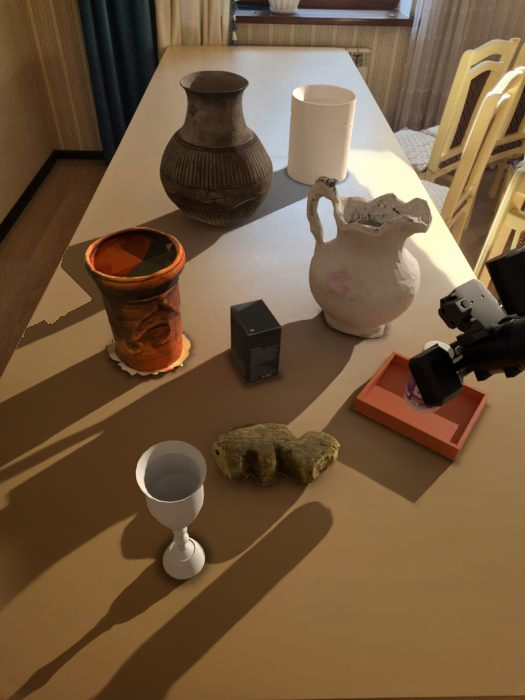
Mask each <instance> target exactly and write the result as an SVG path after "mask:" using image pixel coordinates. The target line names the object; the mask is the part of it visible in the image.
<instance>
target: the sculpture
mask: <svg viewBox="0 0 525 700" xmlns="http://www.w3.org/2000/svg"><path fill="white" fill-rule="evenodd" d="M340 445H341V444H340V443H339V441H338V440H336V438H335V437H334V436H332V435H330V434H328V433H326V432H323V431H317V430H309V431H307V432H305V433H303V434H302V435H301V436H300V437H297V436H295V434H293V432H291V430H290V429H289V427H288V426H287V424H284V423H274V422H252V423H246V424H242V425H236V426H232V427H231V428H229V429H228V431H226V432H224V433H222V434H221V435H220V436H218V439H217V440H216V441H215V442H214V443H213V444H212V450H211V451H212V453H213V456H214V459H215V461H216V463H217V466H218V467H219V469H220V470H221V471H222V473H223V475H224V477H225V478H226V479H229V480H230V481H232V482H236V483H238V482H239V483H241V482H244V481H245V480H247V479H248V477H249V476H250V475H252V476H253V477H254V479H255V482H256V484H258V485H261V486H268V485H271V484H273V483H274V482H275V481H276V480H277V478H278V474H279V473H281V474H283V475H285V476H287V477H288V478H290V479H292V480H293V481H295V482H296V483H299V484H312V483H314V482H316V481H317V480H318V478H319V477H320V476H321V475H322V474H323V473H324V472H325V471H327V470H328V468H329V467H330V466H332V464H333V463H334V462H335V461H336V460H337V459H338V455H339V454H338V453H339V450H340V447H341V446H340Z"/></svg>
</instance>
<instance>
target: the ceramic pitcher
mask: <svg viewBox="0 0 525 700" xmlns="http://www.w3.org/2000/svg"><path fill="white" fill-rule="evenodd" d="M336 183H337V184H339V183H338V179H335V178H333V179H331V178H328V177H325V176H324V177H323V176H322V177H321V176H320V177H319V178H318V179H317V180H315V184H314V185H311V188H310V189H309V191H308V193H307V199H306V219H307V221H308V224H309V231H310V233H311V234H312V236H313V238H314V240H315V245H314V251H313V255H312V257H311V259H310V264H309V268H308V270H309V271H308V285H309V290H310V293H311V295H312V297H313V298H314V301H315V302H316V304H317V305H318V306H319V308H321V309H322V311H323V315H324V318H325V321H326V322H327V324H328V326H329V327H331V328H332V329H334V330H338V331H340V332H342V333H345V334H350V335H352V336H356V337H361V338H364V339H373V338H381V337H382V336H383V335H384V334H385V328H386V325H387V324H389V323H391V322H393V321H394V320H396V319H398V318H399V317H401V316H402V315H403V314H404V313H405V312H406V311H407V310H408V309H409V308H410V307H411V305H412V304H413V302H414V301H415V299H416V297H417V294H418V291H419V287H420V284H421V269H420V265H419V263H418V260H417V258H415V257H414V255H413V254H412V253H411V252H410V251H409V250H408V249H407V248H406V247H405V245H406V241H407V239H408V238H410V237H412V236H413V235H415V234H426V233H427V232H428V231H429V229H430V227H431V226H432V221H433V214H432V211H431V207H430V206H429V204H428V200H426V199H424V198H421V197H414V198H412V199H411V200H408V201H407V202H405V201H403V200H402V199H400V198H399V197H398V196H397V195H396V194H395V193H394V192H387V193H385V194H382V195H379V196H377V197H375V198H373V199H371V200H368V199H366V198H364V197H361V196H346V197H345V196H342V195H341V194H340V193H339V190H338V189H337V184H336ZM323 197H324V198H325V199H327V200H329V201H330V202H331V204H332V207H333V217H334V221H335V225H336V237H334V238H332V239H330V240H326V239H325V235H324V227H323V224H322V222H321V219H320V217H319V213H318V209H319V202H320V199H321V198H323Z"/></svg>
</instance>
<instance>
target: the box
mask: <svg viewBox="0 0 525 700" xmlns="http://www.w3.org/2000/svg"><path fill="white" fill-rule="evenodd" d="M229 310H230V311H229V312H230V313H229V314H230V316H229V317H230V319H229V320H230V356H231V358H232V360H233V361H234V363H235V365H236V367H237V369H238V370H239V372H240V374H241V375H242V377H243V379H244V381H245V383H246V384H247V385H251V384H256V383H258V382H262V381H266V380H270V379H274V378H278V377H279V372H280V358H281V345H282V330H283V329H282V328H283V327H282V325H281V324H280V322H279V320H277V318H276V317H275V315H274V314H273V312H272V311H271V310H270V308H269V307H268V305H267V304H266V303H265V301H264V299H262V298H261V299H255V300H251V301H247V302H241V303H238V304H233V305H230V306H229Z"/></svg>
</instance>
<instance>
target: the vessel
mask: <svg viewBox="0 0 525 700" xmlns="http://www.w3.org/2000/svg"><path fill="white" fill-rule="evenodd" d="M83 259H84V260H83V261H84V267H85V270H86V272H87V274H88V275H89V277H90V278H91V279H92V281H93V282H94V284H95V285H96V287H97V288H98V290H99V292H100V295H101V299H102V304H103V306H104V311H105V313H106V316H107V321H108V324H109V328H110V330H111V333H112V336H113V337H112V338H113V341H112V343H110V344H109V345H108V346H107V347H106V350H107V352H108V355H109V357H110V358H111V359H112V360H114V361H115V362H116V361H117V362H119V363H118V364H117V366H120V368H121V370H123V371H126V372H128V373H129V374H130V376H134V375H136V374H138V375H140V376H143V377H144V376H149V375H150V374H152V375H158V374H159V373H162V372H163V373H167V372H169V371H172V370H174V369H175V368H176V367H179V366H181V367H183V366H184V364H183V362H184V361H185V360H186V359H187V358H188V357H189V355H190V351H189V350H190V349H191V346H192V344H191V342H190V340H189V339H188V338H187V336H186V335H185V334H183V328H182V326H183V321H182V320H183V319H182V314H181V310H182V309H181V308H182V303H181V293H180V286H179V280H180V276H181V274H182V273H183V271H184V269H185V266H186V253H185V250H184V247H183V245H182V244H181V242H180V241H179V240H178V239H177V238H176V237H174V236H173V235H171V234H169V233H166V232H163V231H160V230H157V229H155V228H150V227H146V226H145V227H143V226H142V227H139V226H131V227H126V228H122V229H119V230H115V231H111V232H109V233H107V234H105V235H103V236H102V237H100V238H98V239H96V240H95V241H94V242H92V243H91V244H90V245H89V246H88V247H87V249H86V251H85V253H84V257H83ZM174 367H175V368H174Z"/></svg>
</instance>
